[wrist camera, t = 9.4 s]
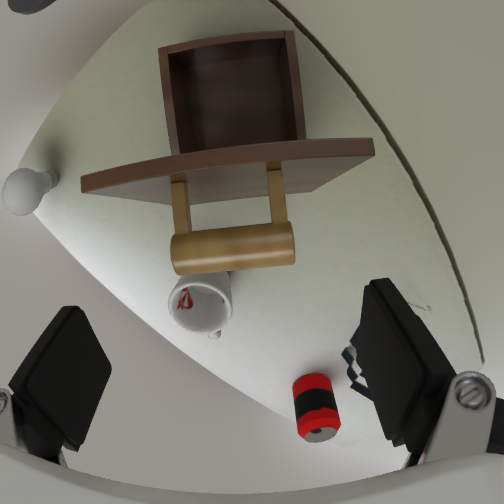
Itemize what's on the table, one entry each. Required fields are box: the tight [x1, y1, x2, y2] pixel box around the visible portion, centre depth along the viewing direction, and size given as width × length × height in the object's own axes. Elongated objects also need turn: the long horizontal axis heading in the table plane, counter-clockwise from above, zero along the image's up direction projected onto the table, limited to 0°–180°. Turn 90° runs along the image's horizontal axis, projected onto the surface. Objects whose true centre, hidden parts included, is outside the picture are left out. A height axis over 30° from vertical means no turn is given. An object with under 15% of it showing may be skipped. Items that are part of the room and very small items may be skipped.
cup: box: [168, 271, 232, 339], centre depth 39 cm, size 11×8×8 cm
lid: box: [81, 138, 375, 275], centre depth 20 cm, size 17×13×5 cm
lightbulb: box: [2, 168, 58, 216], centre depth 30 cm, size 6×6×11 cm
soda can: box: [293, 374, 341, 443], centre depth 47 cm, size 8×8×12 cm
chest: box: [158, 30, 306, 155], centre depth 29 cm, size 16×13×9 cm
